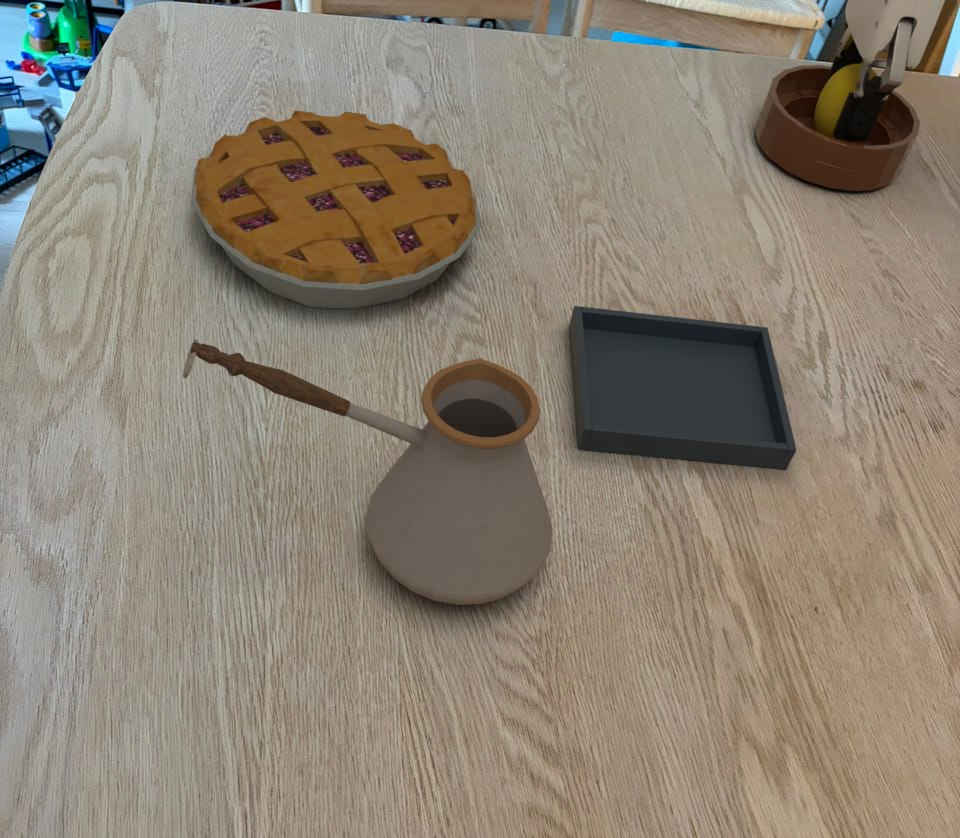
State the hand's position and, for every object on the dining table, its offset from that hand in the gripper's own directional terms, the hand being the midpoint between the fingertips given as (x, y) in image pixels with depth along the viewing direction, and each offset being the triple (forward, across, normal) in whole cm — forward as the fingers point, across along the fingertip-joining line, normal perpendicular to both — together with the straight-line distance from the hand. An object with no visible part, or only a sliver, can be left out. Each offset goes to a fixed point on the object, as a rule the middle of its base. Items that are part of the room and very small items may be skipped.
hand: (842, 118), depth 99 cm
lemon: (+3, 0, 0) cm, 3 cm away
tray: (+3, -37, +19) cm, 42 cm away
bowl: (+3, 0, 0) cm, 3 cm away
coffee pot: (+4, -54, +40) cm, 67 cm away
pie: (+3, -22, +45) cm, 50 cm away
